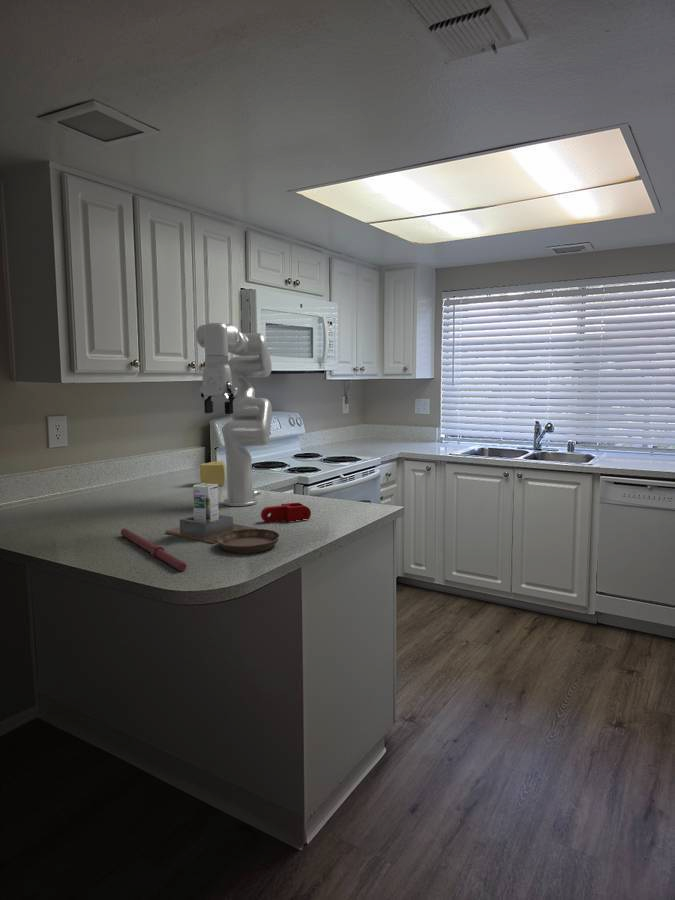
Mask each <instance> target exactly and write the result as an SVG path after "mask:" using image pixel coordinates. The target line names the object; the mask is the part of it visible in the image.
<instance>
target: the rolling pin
mask: <svg viewBox="0 0 675 900" xmlns="http://www.w3.org/2000/svg"><path fill="white" fill-rule="evenodd" d="M120 535H121V536H123V537H125V538H126V539H127V540H129V541H131V542H132V543H134V544H136V545H137V546H139V547H141V548H142V549H143V550H146V551H147V552H149V553H150V555H151V556H152V557H153V558H156V559H161V561H162V562H165V563H167V564H168V565H170V566H171V567H173V568H174V569H176V570H178V571H180V572H184V571H185V570H186V569H187V563H186V562H184V561H182V560H181V559H179V558H177V557H176V556H174V555H172V554H171V553H169V552H167V551H166V550H165V549H164V548H163V547H162V546H160V545H159V544H158V545H157V544H156V545H155V544H154V543H152V542H150V541H149V540H147V539H145V538H143V537H142V536H140V535H138V534H136V533H135V532H133V531H131V530H129V529H128V528H126V527H125V528H122V529H121V530H120Z"/></svg>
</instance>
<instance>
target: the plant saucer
mask: <svg viewBox="0 0 675 900" xmlns="http://www.w3.org/2000/svg"><path fill="white" fill-rule="evenodd" d="M280 537H281V536H280V533H279V532H277V531H274V530H271V529H264V528H258V529H244V530H236V531H231V532H228V533H225V534H222V535H220V536H219V537H218V538H217V541H218V544H219V545H220V547H222V548H223V550H225V551H226V552H230V553H235V552H236V554H249V553H251V554H252V553H260V552H264V550H265V551H268V550H270V549H271V548H273V547H274V546H275V545H276V544H277V542H278V541H279V539H280ZM267 549H268V550H267ZM259 551H260V552H259Z"/></svg>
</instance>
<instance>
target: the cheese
mask: <svg viewBox="0 0 675 900" xmlns="http://www.w3.org/2000/svg"><path fill="white" fill-rule="evenodd" d="M199 473H200V475H199V476H200V478H199V479H200V484H201V483H205V484H218V487H225V484H226V461H210V462H203V463H201V464H200V468H199Z"/></svg>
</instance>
